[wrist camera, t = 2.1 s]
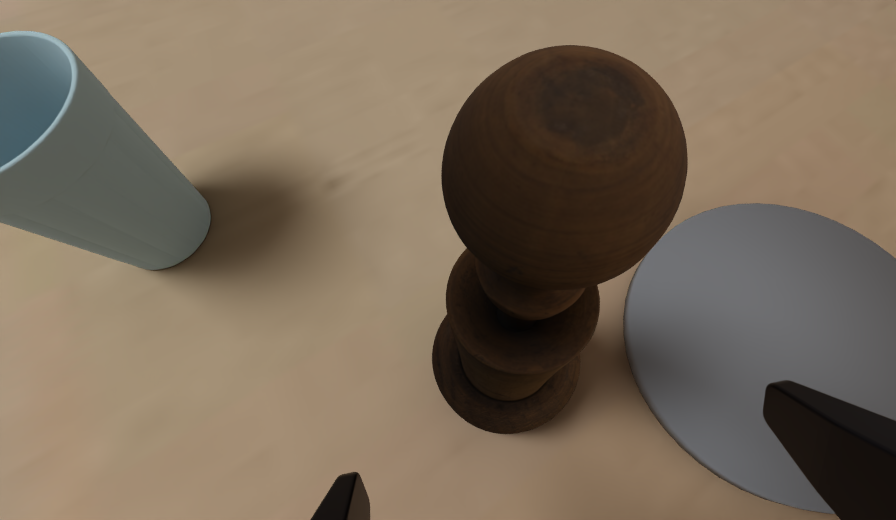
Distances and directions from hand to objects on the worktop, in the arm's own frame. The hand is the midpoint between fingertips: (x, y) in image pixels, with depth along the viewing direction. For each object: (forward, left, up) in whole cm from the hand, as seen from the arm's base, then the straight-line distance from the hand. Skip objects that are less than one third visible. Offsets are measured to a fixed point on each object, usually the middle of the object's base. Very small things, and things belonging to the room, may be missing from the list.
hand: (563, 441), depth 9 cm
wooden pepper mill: (+3, -1, -11) cm, 12 cm away
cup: (+19, +13, -12) cm, 26 cm away
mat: (-2, -13, -11) cm, 17 cm away
